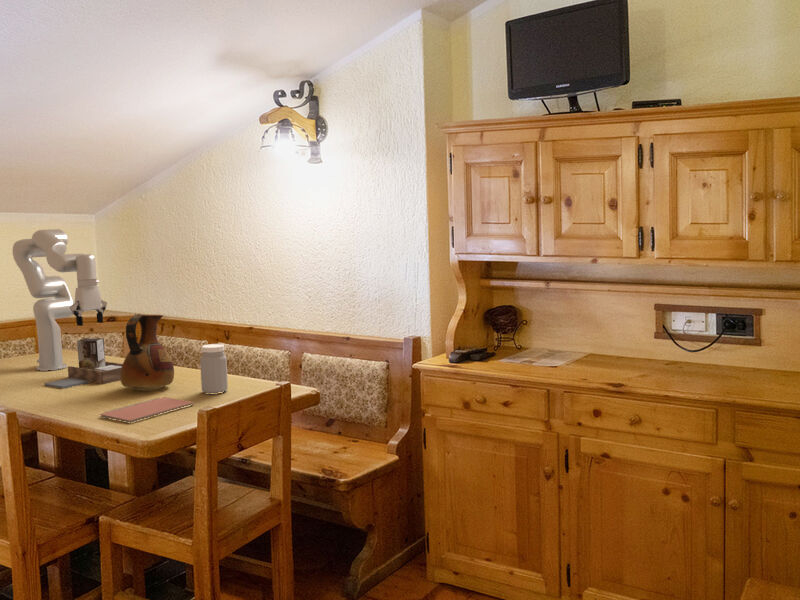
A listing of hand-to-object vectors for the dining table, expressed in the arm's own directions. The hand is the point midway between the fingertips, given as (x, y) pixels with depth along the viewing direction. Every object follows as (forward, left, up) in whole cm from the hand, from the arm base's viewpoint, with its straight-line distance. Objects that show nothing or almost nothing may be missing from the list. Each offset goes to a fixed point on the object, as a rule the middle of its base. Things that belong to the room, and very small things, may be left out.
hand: (90, 324), depth 317 cm
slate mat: (+4, -15, -23) cm, 27 cm away
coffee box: (0, 0, -23) cm, 23 cm away
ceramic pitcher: (+41, -5, -23) cm, 47 cm away
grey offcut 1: (+9, 0, -23) cm, 24 cm away
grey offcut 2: (+13, 0, -23) cm, 26 cm away
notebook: (+68, -28, -23) cm, 77 cm away
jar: (+68, +4, -23) cm, 71 cm away
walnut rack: (+5, 0, -23) cm, 23 cm away
